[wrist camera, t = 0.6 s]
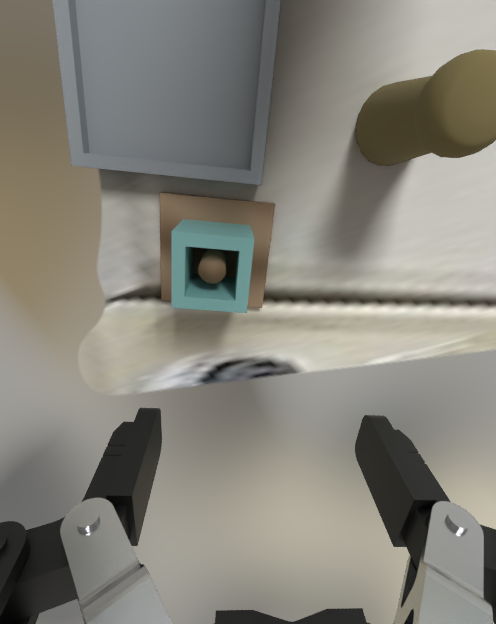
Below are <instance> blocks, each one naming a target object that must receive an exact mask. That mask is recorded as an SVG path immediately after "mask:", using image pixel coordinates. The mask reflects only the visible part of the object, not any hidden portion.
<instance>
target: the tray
mask: <svg viewBox="0 0 496 624" xmlns="http://www.w3.org/2000/svg"><path fill="white" fill-rule="evenodd" d="M52 1H53V10H54V18H55V27H56V36H57V44H58V52H59V61H60V69H61V78H62V88H63V96H64V105H65V113H66V122H67V131H68V139H69V148H70V157H71V165H72V166H79V167H89V168H98V169H108V170H118V171H128V172H137V173H147V174H157V175H167V176H177V177H186V178H196V179H206V180H216V181H225V182H235V183H245V184H255V185H261V184H262V175H263V165H264V156H265V146H266V137H267V128H268V118H269V109H270V99H271V90H272V80H273V71H274V62H275V52H276V43H277V33H278V24H279V14H280V5H281V0H52Z"/></svg>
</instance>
